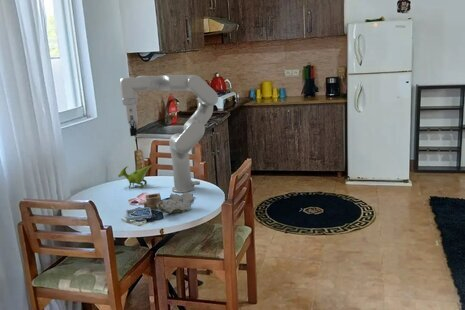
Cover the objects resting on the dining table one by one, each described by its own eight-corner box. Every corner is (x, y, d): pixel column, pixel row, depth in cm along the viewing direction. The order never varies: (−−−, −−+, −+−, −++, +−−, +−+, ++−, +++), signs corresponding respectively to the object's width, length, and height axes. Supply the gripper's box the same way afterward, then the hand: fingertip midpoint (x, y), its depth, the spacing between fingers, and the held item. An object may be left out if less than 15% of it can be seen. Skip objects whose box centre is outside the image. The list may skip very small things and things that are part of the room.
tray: (150, 210, 225) (150, 206, 225) (152, 218, 214) (151, 214, 214) (126, 214, 223) (125, 210, 222) (126, 222, 212) (126, 218, 211)
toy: (133, 191, 275) (118, 171, 273) (161, 173, 270) (146, 152, 268) (128, 196, 267) (113, 175, 265) (157, 177, 262) (142, 156, 260)
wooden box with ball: (160, 204, 234) (159, 193, 232) (162, 208, 227) (160, 197, 226) (144, 206, 232) (142, 195, 231) (144, 211, 225) (143, 199, 224)
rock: (170, 226, 216) (165, 211, 210) (157, 216, 223) (152, 201, 217) (200, 204, 225) (196, 189, 219) (187, 194, 232) (183, 180, 226)
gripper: (137, 102, 230) (141, 136, 233) (137, 99, 246) (140, 131, 250) (122, 104, 228) (126, 137, 232) (123, 100, 245) (126, 132, 249)
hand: (133, 134), depth 241 cm, fingers open, 9 cm apart
